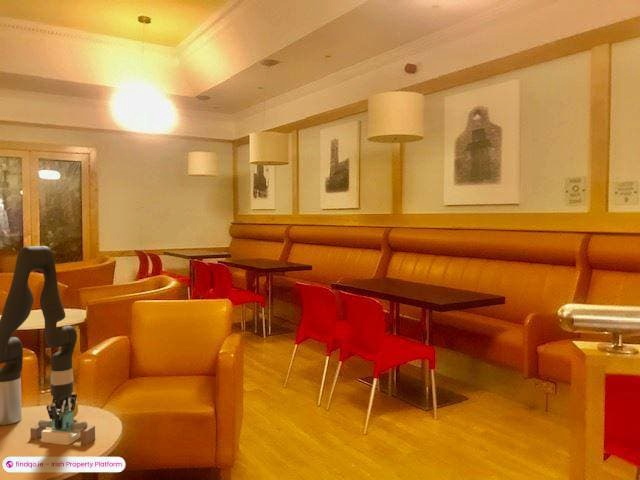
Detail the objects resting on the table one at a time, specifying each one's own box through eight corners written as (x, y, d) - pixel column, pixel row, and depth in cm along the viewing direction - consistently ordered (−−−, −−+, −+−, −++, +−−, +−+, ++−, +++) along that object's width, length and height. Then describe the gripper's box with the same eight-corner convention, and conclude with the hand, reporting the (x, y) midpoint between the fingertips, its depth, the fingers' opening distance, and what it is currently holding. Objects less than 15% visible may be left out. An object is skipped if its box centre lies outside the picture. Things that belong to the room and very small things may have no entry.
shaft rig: (26, 440, 192) (26, 420, 192) (43, 430, 201) (43, 411, 200) (83, 447, 187) (82, 427, 187) (98, 436, 196) (98, 417, 195)
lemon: (81, 417, 214) (80, 398, 213) (73, 422, 208) (73, 402, 208) (68, 416, 214) (67, 397, 214) (60, 421, 209) (59, 402, 208)
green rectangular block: (52, 429, 192) (51, 413, 192) (59, 425, 196) (59, 409, 196) (66, 431, 191) (66, 415, 191) (73, 426, 195) (73, 411, 195)
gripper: (66, 374, 200) (66, 418, 201) (38, 386, 186) (39, 433, 187) (83, 375, 199) (84, 419, 200) (57, 387, 185) (58, 435, 186)
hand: (62, 426), depth 194 cm, fingers closed on green rectangular block, 4 cm apart
